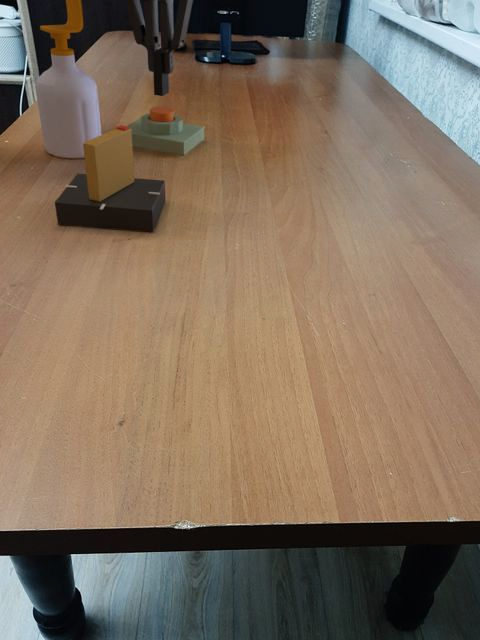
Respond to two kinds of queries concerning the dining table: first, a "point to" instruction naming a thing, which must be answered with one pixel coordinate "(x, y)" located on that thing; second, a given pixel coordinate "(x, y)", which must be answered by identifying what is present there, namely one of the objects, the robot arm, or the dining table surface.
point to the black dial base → (112, 206)
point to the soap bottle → (67, 94)
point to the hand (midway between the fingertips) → (161, 93)
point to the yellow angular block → (109, 163)
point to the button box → (165, 135)
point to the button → (161, 114)
